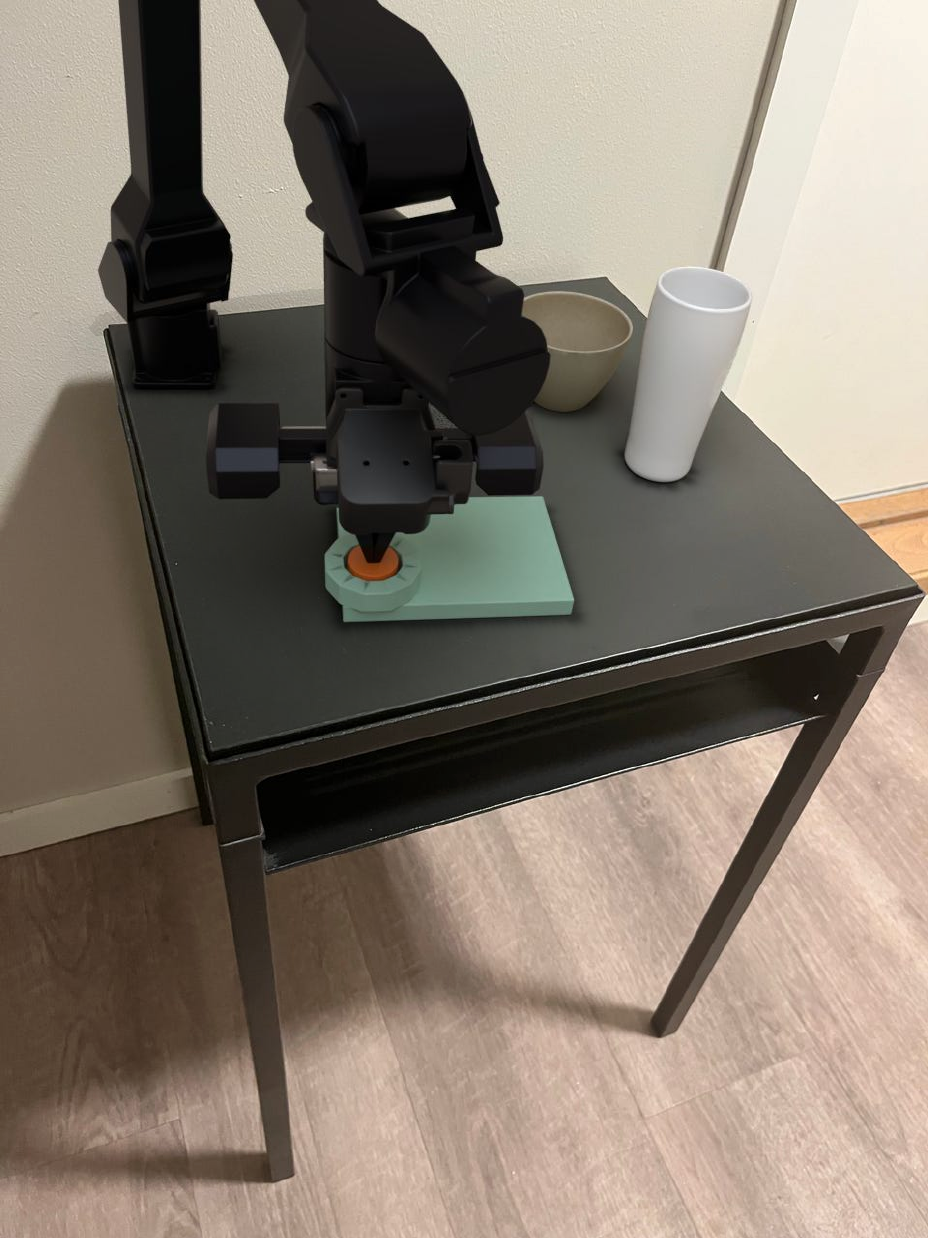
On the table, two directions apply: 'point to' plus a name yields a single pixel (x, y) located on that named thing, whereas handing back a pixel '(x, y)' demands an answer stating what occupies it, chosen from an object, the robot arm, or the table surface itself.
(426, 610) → the scale
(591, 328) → the flower pot
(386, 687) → the table surface
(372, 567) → the button
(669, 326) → the drinking glass
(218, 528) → the table surface
